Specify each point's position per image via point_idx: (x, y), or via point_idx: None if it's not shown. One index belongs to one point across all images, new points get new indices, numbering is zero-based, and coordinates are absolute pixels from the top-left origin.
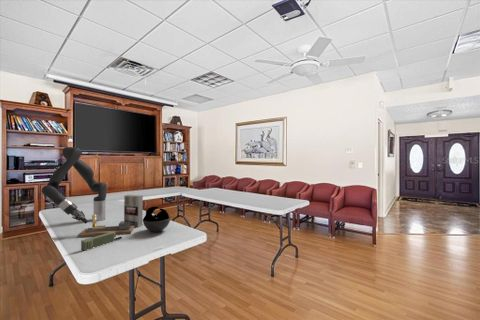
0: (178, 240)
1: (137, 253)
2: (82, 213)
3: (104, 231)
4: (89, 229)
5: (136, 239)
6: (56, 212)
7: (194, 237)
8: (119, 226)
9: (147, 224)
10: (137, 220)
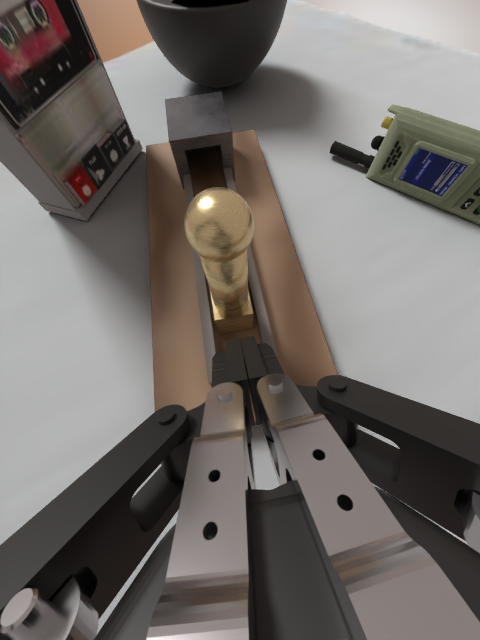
0: (328, 23)
1: (472, 71)
2: (99, 510)
3: (256, 244)
4: None
5: (333, 108)
6: None
7: (297, 4)
8: (233, 152)
9: (279, 15)
10: (116, 106)
